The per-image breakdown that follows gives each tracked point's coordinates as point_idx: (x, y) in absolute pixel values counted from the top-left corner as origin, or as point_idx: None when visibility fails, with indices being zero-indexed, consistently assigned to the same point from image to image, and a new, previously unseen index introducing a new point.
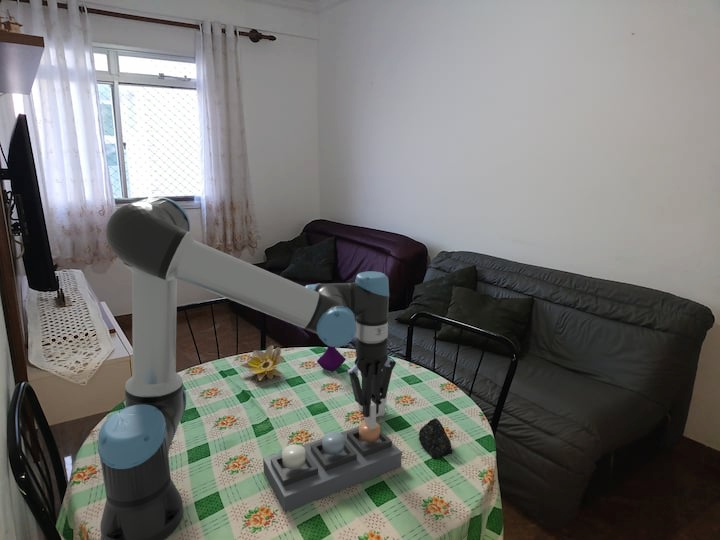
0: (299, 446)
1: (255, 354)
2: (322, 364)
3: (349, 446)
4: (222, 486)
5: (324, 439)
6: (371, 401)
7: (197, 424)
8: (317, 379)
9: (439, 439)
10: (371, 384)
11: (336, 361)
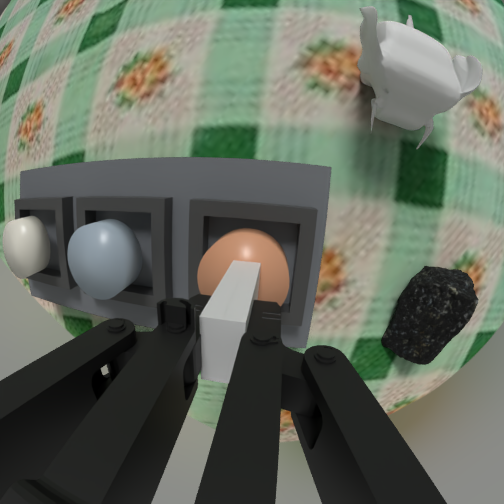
0: (25, 238)
1: None
2: None
3: (162, 268)
4: (7, 174)
5: (72, 250)
6: (234, 347)
7: (45, 10)
8: None
9: (427, 338)
10: (215, 442)
11: None
